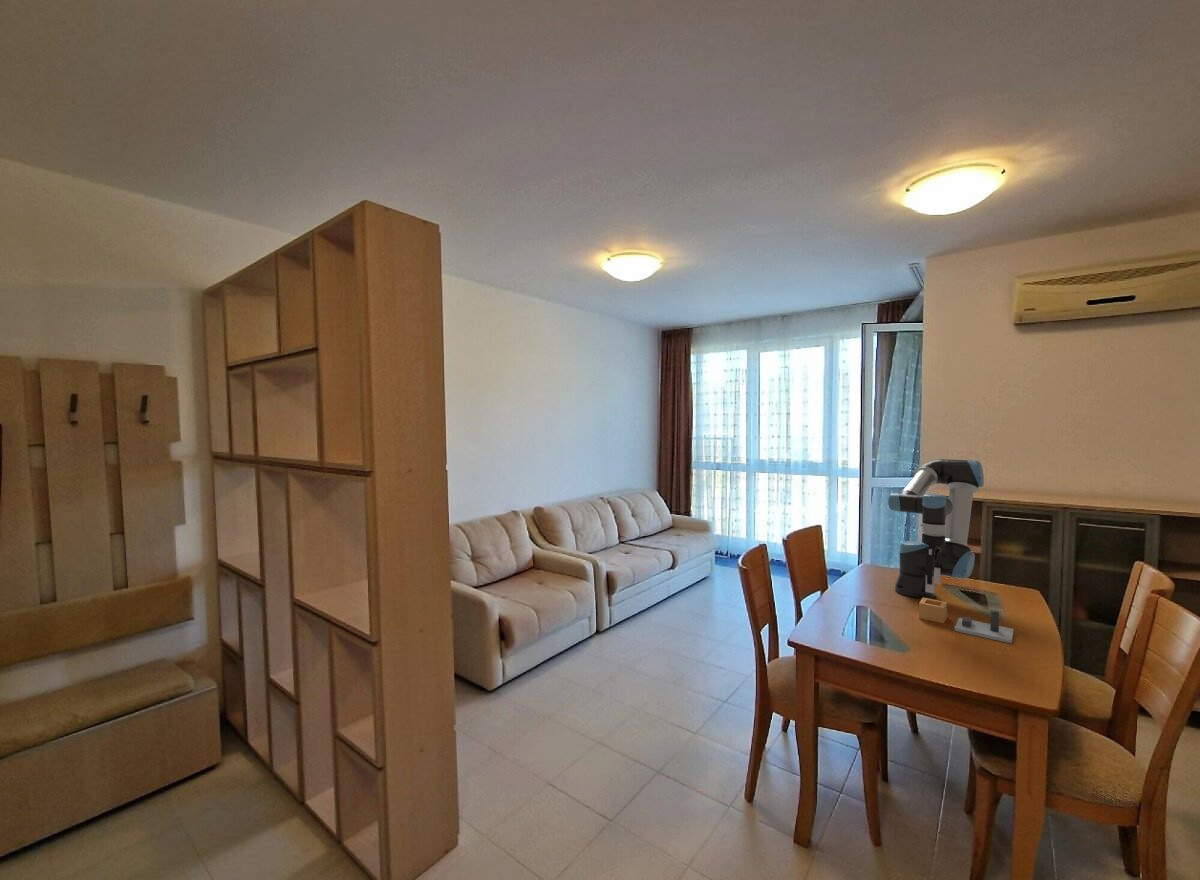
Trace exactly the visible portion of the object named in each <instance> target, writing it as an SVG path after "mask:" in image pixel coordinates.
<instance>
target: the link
mask: <svg viewBox="0 0 1200 880" xmlns="http://www.w3.org/2000/svg"><path fill="white" fill-rule="evenodd" d="M947 618H948V602H947V601H943V600H937V599H933V598H921V599H920V601H919V603H918V619H921V620H925V621H931V622H935V623H939V624H942V625H943V624H945V622H946V620H947Z"/></svg>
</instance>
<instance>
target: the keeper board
mask: <svg viewBox="0 0 1200 880" xmlns="http://www.w3.org/2000/svg"><path fill="white" fill-rule="evenodd" d="M989 615H990V617H989V618H990V620H989V621H990V622H989V623H987V622H983V621H978V620H977V621H976V620H973V618H972V617H969V616H963V617H958V620H957V622H956V624H955V625H954V631H955V632H959V633H964V634H968V635H971V636H977V637H981V638H985V639H988V640H989V639H990V640H993V641H994V640H995V641H998V642H999V641H1000V642H1003V643H1008V644H1011V645H1012V643H1013V639H1014V638H1013V637H1014V628H1011V627H1006V626H1001V625H1000V611H998V610H996V609H995V610H994V609H991V610H990V614H989Z"/></svg>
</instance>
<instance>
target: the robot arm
mask: <svg viewBox="0 0 1200 880" xmlns="http://www.w3.org/2000/svg"><path fill="white" fill-rule="evenodd" d="M984 478H985V477H984V469H983V465H982V463H981V462H980V461H978V460H973V459H971V460H970V459H951V458H950V459H948V458H945V459H944V458H938V459H932V460H929V461H927V462H925V463H923V464H921V465H919V466H918V467H917V468H916V469H915V470H914V472H913V477H912V478H911V479H910V480H909V481H908V483H907V484H906V485H905V486H904V487H903V489H902V490H901V491H900V493H899V492H896V493H895V492H893V493H890V494H889V496H888V500H887V502H888V503H887V504H888V508H889V509H890V511H896V512H899V513H900V512H902V513H911V514H921V515H922V516H921V517H922V518H921V519H922V520H921V522H922V524H920V527H921V530H922V531H921V532H922V534H921V540H906V541H903V542H901V543H900V544H899V551H898V553H899V574H898V577H897V579H896V582H895V584H894V591H895V592H896V593H898V594H900V595H902V596H906V597H910V598H916V599H922V598H928V599H933V598H934V597H935V596H936V590H935V585H938V586H940V585H941V576H947V577H951V578H955V579H956V578H957V579H967V578H969V577H970V576H971V575H972V572H973V570H974V566H975V559H976V555H975V553H974V552H973V551H972V548H971V547H970V546H969V544H968V540H969V539H968V538H969V531H970V523H971V515H972V506H973V499H974V494H975V493H978V491H979V488H982V487H984V486H985V479H984ZM935 484H937V485H938V484H940V485H945V486H946V488H947V489H948V490H949V493H948V496H945V495H943V494H938V493H927V491H928V490H929V488H930V487H931V486H934V485H935Z"/></svg>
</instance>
